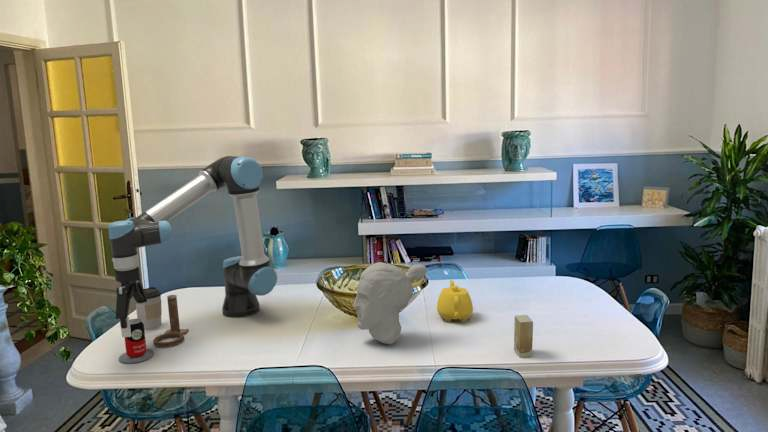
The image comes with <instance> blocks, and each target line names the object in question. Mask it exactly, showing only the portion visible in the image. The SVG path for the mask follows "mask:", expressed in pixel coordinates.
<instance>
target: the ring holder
mask: <svg viewBox="0 0 768 432" xmlns="http://www.w3.org/2000/svg"><path fill="white" fill-rule="evenodd" d="M166 298H167V299H166V300H167V308H168V318H169V326H170V327H169V328H170V329H166V330H165V331H164V332H163V333H162V334H160V335H157V336H155V338H153V339H152V342H153V346H154V347H155V348H156V347H157V348H159V349H160V348H161V349H163V348H164V349H165V348H166V349H167V348H172V347H175V346H179V345H181V344H183V342H185V336H186V335H187V334H188V332H189V330H190V329H189V328H180V326H181V325H180V319H179V318H180V317H179V309H178V307H179V306H178V297H177V295H176V294H169V295H167V296H166ZM172 338H174V339H175V338H176V339H175V340H171V341H163V340H165V339H172Z"/></svg>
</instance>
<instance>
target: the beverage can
mask: <svg viewBox="0 0 768 432" xmlns="http://www.w3.org/2000/svg"><path fill="white" fill-rule="evenodd" d="M129 321H130V329H131V337H123V338H124V344H125V353H126V354H127V355H128V356H129V357H131V358H136V357H140V356H143V355H144V354H145V353H146V351H147V349H148V348H147V341H146V340H147V339H146V333H145V332H146V331H145V329H144V324H143V323H142V321H141V319H137V318H129Z"/></svg>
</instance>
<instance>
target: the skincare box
mask: <svg viewBox="0 0 768 432" xmlns="http://www.w3.org/2000/svg"><path fill="white" fill-rule="evenodd" d="M513 328H514V333H513V334H514V335H513V336H514V337H513V351H514V352H515V353H516V355H517V356H518V357H519V358H532V357H533V340H534V339H533V336H534V335H533V333H534V321H533V320H532V319H531V317H529V315H528V314H522V315H518V314H517V315H514V327H513Z"/></svg>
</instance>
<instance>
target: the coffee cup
mask: <svg viewBox="0 0 768 432" xmlns="http://www.w3.org/2000/svg"><path fill="white" fill-rule="evenodd" d="M143 289H144V291H145V294H146V299H147V302H144V304H145V312H146V320H147V321H143V322H142V323H143V324H144V330H148V331H151V330H155V329H156V330H157V329H159V328H160V327H161V326H162V315H163V314H162V296H161V295H162V292H161V290H158V288H157V287H155V286H150V287H148V288H146V287H145V288H143Z"/></svg>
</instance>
